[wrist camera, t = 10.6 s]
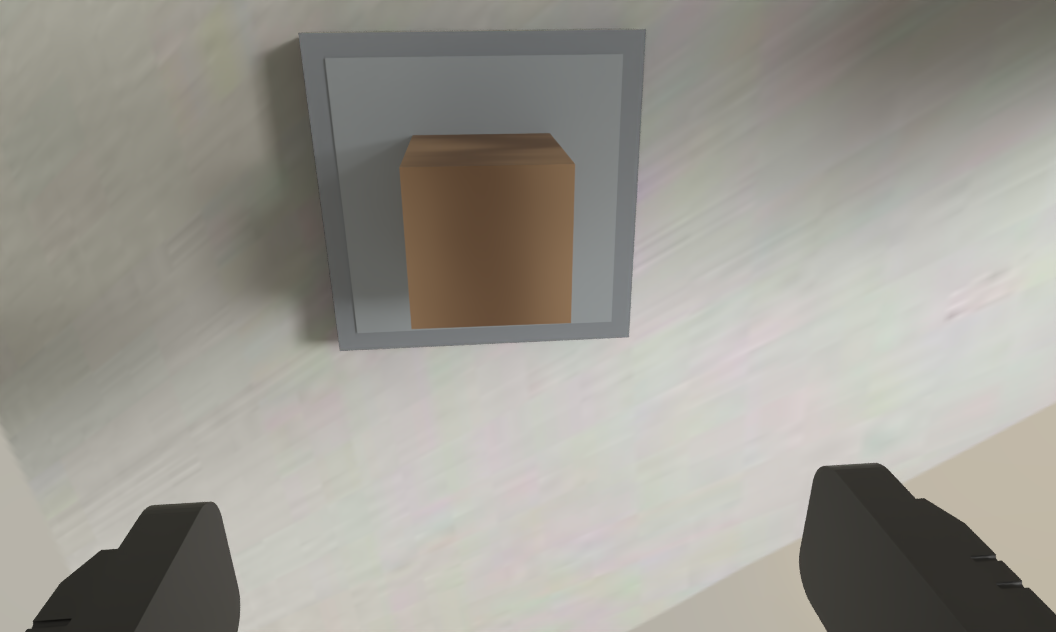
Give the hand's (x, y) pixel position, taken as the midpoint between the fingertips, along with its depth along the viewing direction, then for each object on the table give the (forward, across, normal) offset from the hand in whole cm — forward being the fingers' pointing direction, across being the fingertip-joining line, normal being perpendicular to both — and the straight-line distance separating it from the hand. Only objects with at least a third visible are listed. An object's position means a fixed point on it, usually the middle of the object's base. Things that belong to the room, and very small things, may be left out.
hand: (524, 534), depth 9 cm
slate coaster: (+20, 0, 0) cm, 20 cm away
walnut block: (+18, 0, 0) cm, 18 cm away
